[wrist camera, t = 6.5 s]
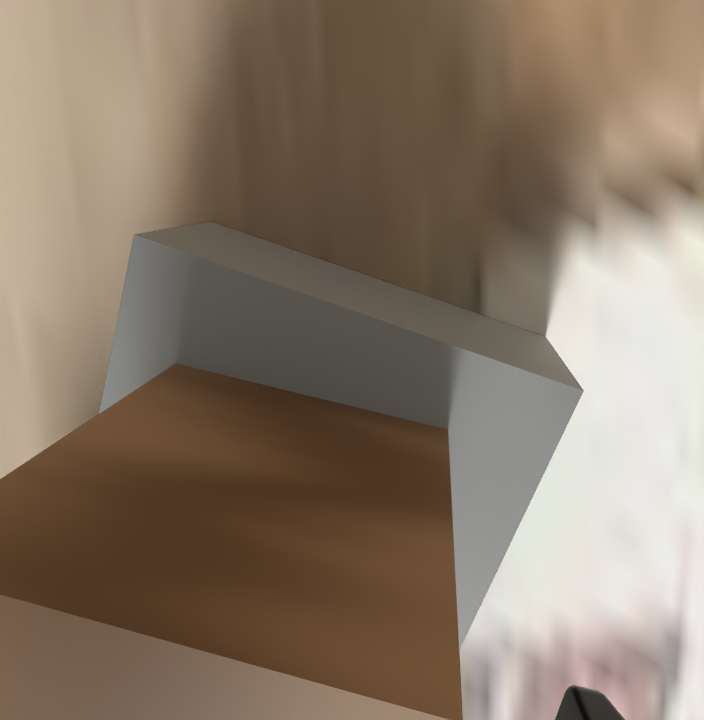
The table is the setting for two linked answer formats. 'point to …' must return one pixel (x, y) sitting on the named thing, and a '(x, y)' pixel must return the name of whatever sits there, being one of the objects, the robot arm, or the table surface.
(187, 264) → the grey slab
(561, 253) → the table surface
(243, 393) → the walnut block
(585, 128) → the table surface
